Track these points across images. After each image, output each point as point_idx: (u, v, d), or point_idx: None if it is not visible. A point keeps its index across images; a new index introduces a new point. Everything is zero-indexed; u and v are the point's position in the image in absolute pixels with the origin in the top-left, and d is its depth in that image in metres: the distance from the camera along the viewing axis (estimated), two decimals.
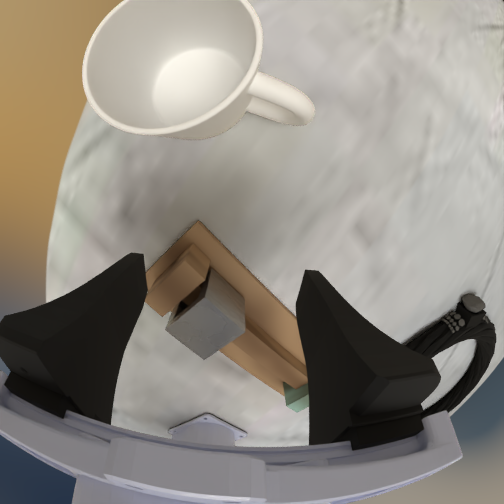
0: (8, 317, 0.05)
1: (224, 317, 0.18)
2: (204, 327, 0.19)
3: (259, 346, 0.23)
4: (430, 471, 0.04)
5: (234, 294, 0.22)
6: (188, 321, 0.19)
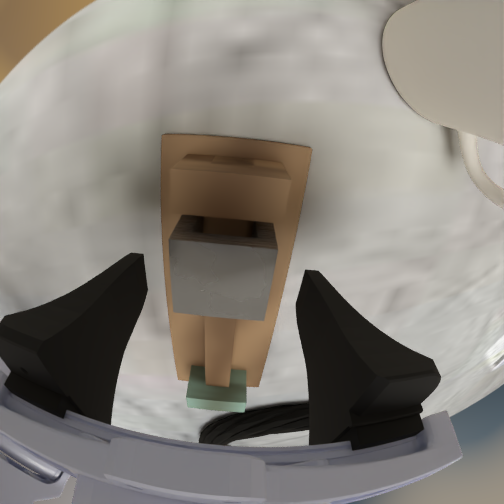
0: (9, 317, 0.05)
1: (266, 289, 0.12)
2: (226, 280, 0.12)
3: (227, 328, 0.17)
4: (430, 471, 0.04)
5: None
6: (216, 257, 0.11)
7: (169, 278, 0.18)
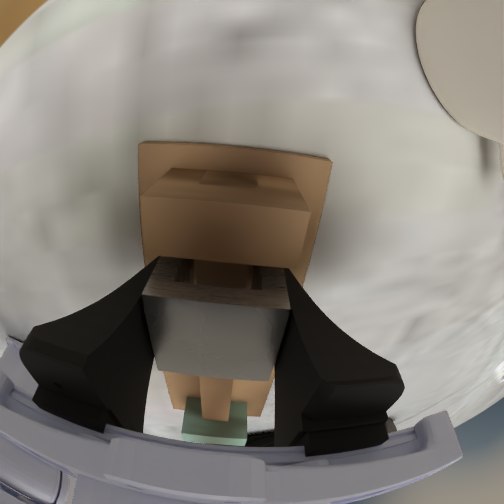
0: (39, 328, 0.05)
1: (272, 352, 0.09)
2: (221, 342, 0.09)
3: None
4: (430, 471, 0.04)
5: None
6: (206, 317, 0.08)
7: None
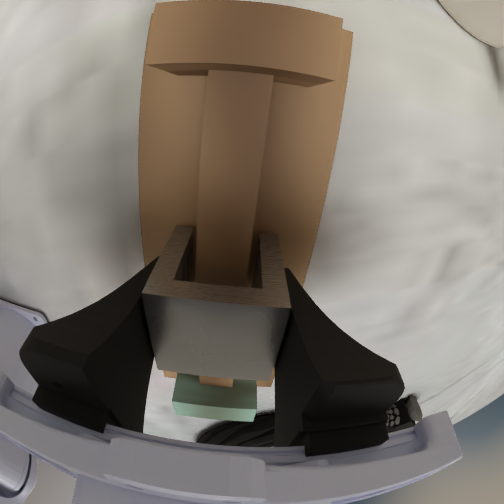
0: (39, 328, 0.05)
1: (272, 351, 0.09)
2: (222, 341, 0.09)
3: None
4: (430, 471, 0.04)
5: None
6: (206, 316, 0.08)
7: (147, 219, 0.12)
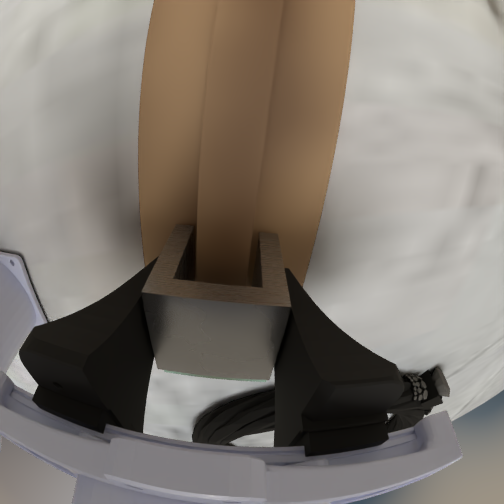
0: (39, 328, 0.05)
1: (272, 350, 0.09)
2: (221, 341, 0.08)
3: (245, 162, 0.08)
4: (430, 471, 0.04)
5: None
6: (206, 315, 0.08)
7: (147, 99, 0.09)
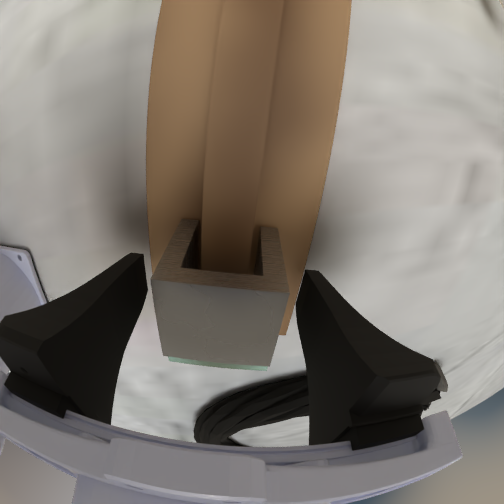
0: (9, 317, 0.05)
1: (272, 336, 0.09)
2: (225, 326, 0.09)
3: (247, 160, 0.09)
4: (430, 471, 0.04)
5: None
6: (211, 301, 0.09)
7: (155, 100, 0.10)
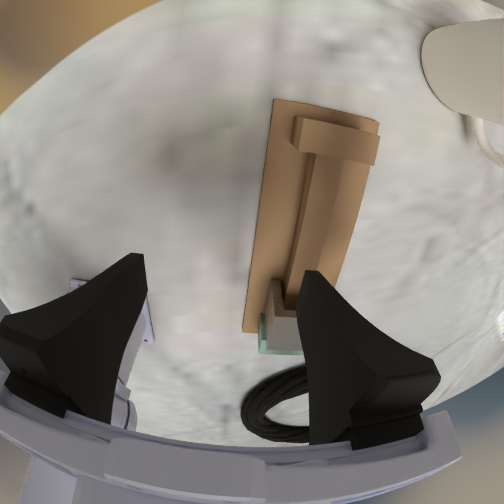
0: (8, 317, 0.05)
1: None
2: None
3: (313, 261, 0.21)
4: (430, 471, 0.04)
5: None
6: None
7: (262, 220, 0.21)
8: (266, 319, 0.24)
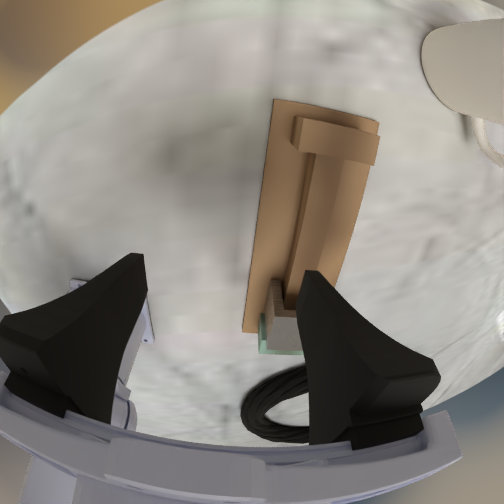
0: (8, 317, 0.05)
1: None
2: None
3: (313, 261, 0.21)
4: (430, 471, 0.04)
5: None
6: None
7: (262, 220, 0.21)
8: (266, 319, 0.24)
